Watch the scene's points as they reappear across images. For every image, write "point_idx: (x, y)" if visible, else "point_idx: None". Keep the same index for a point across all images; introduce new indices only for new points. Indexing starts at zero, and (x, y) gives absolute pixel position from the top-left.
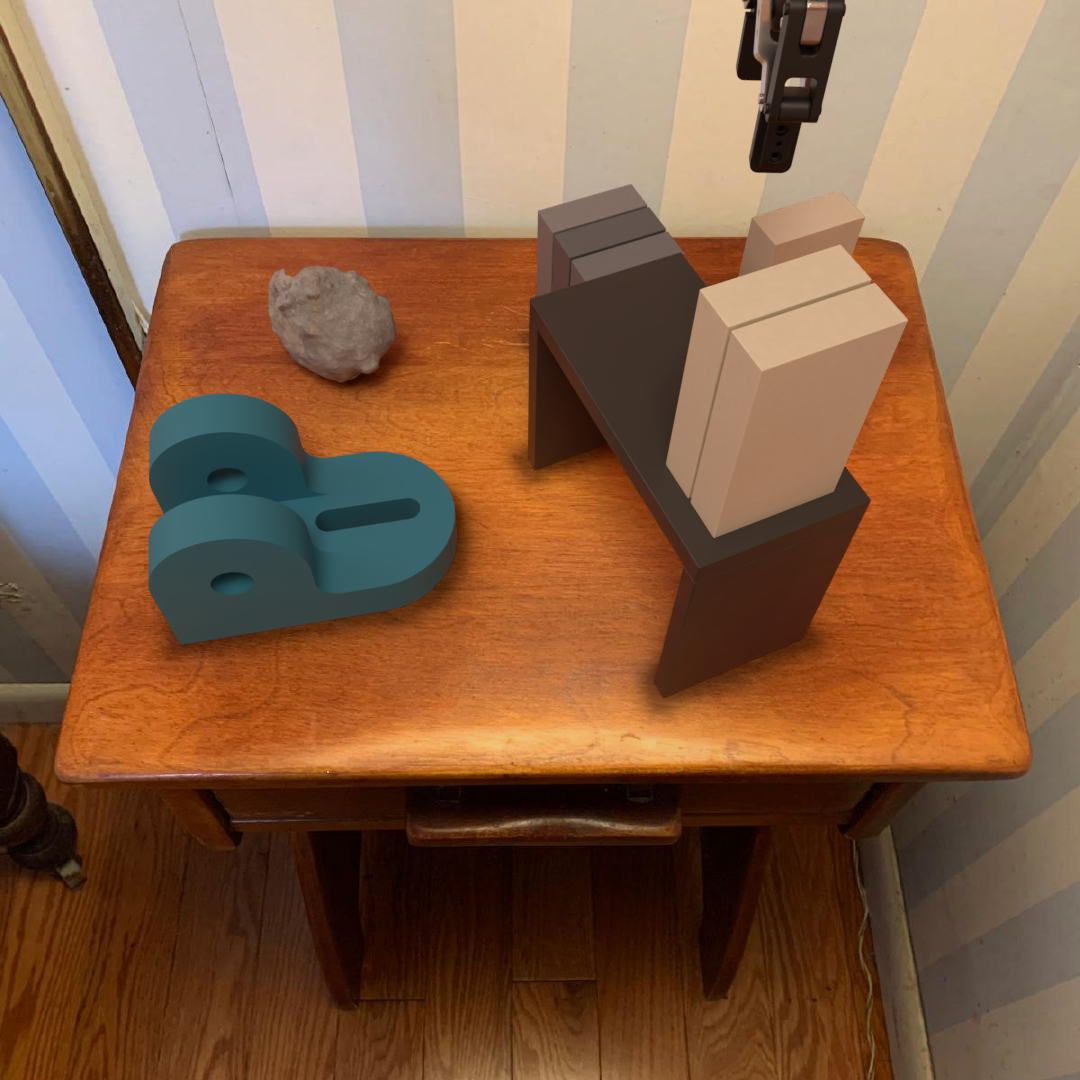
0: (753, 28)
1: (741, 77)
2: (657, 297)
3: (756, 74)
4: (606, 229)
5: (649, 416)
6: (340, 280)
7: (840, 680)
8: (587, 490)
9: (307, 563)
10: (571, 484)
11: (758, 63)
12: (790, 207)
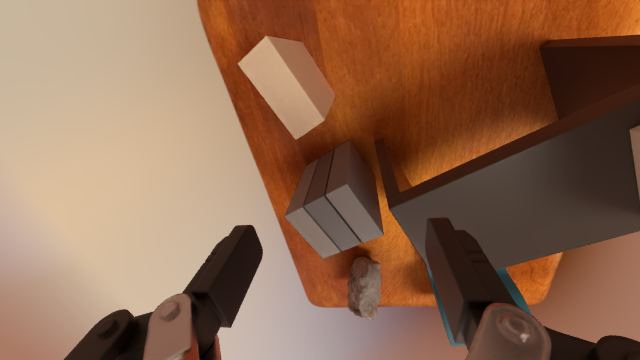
0: (233, 305)
1: (261, 251)
2: None
3: (254, 242)
4: (331, 227)
5: (579, 225)
6: (364, 303)
7: (593, 9)
8: (427, 168)
9: (519, 291)
10: (423, 176)
11: (249, 253)
12: (275, 109)
